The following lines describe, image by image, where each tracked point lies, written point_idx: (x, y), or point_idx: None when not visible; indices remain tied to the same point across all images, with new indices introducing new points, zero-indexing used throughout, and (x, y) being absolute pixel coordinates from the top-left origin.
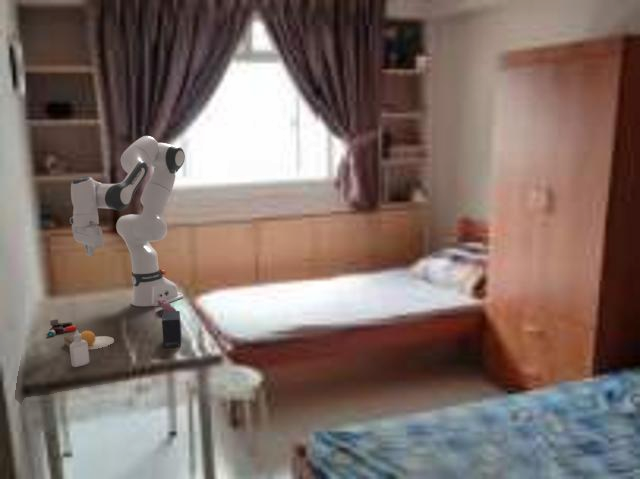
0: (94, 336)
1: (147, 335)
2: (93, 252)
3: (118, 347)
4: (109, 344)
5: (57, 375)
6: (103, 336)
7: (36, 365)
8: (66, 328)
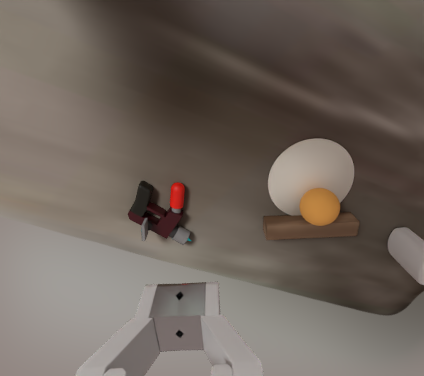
0: (335, 195)
1: (380, 52)
2: (218, 304)
3: (385, 151)
4: (352, 162)
5: (403, 279)
6: (286, 151)
7: (326, 290)
8: (180, 207)
